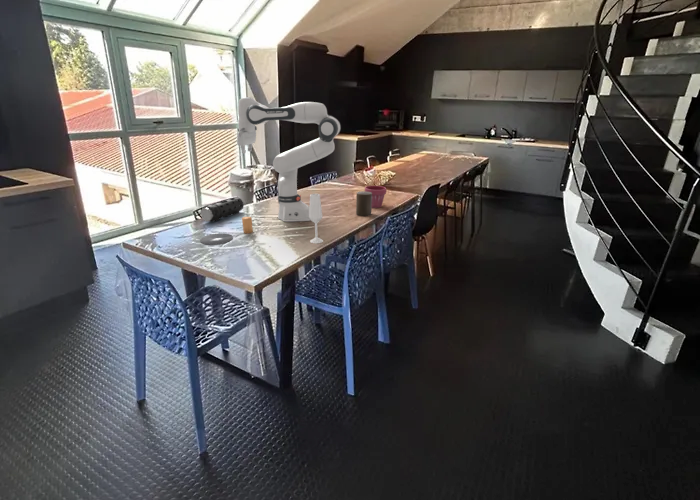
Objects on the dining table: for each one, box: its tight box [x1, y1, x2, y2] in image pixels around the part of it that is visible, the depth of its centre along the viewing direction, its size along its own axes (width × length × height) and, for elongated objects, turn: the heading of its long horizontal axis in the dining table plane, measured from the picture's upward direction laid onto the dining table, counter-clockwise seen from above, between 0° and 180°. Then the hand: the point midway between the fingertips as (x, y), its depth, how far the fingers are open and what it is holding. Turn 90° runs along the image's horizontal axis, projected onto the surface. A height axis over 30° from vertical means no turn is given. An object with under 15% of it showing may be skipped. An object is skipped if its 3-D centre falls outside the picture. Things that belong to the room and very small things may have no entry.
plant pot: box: [364, 185, 387, 209], centre depth 254 cm, size 14×14×13 cm
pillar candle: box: [355, 190, 372, 217], centre depth 236 cm, size 10×10×15 cm
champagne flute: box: [308, 193, 324, 244], centre depth 188 cm, size 7×7×24 cm
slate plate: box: [199, 232, 234, 246], centre depth 196 cm, size 16×16×1 cm
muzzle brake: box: [200, 196, 244, 223], centre depth 230 cm, size 10×28×10 cm, turn 155°
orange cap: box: [241, 216, 254, 235], centre depth 205 cm, size 5×5×8 cm
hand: (246, 152), depth 221 cm, fingers open, 8 cm apart
